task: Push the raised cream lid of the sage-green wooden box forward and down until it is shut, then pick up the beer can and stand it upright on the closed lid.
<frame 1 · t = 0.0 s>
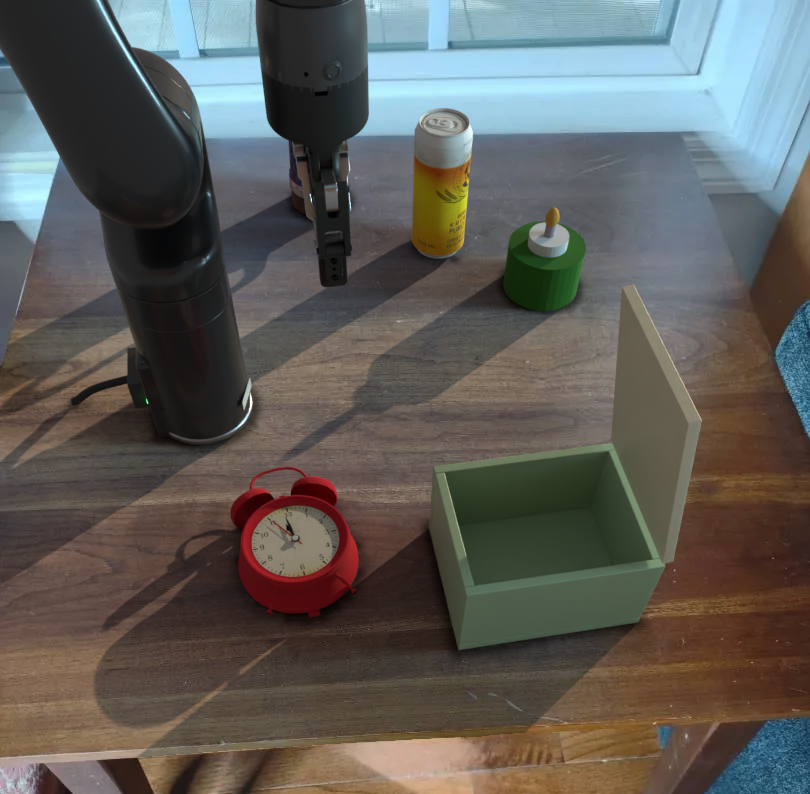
hand: (327, 251, 73), 17 cm above the table, tool pointing down, fingers open, 8 cm apart
chest: (530, 573, 76), on the table
mug: (326, 210, 105), on the table
lid: (648, 431, 62), point 17 cm above the table, hinge at 80.0°
beer can: (437, 246, 101), on the table
alarm clock: (295, 550, 77), on the table
candle: (539, 287, 97), on the table
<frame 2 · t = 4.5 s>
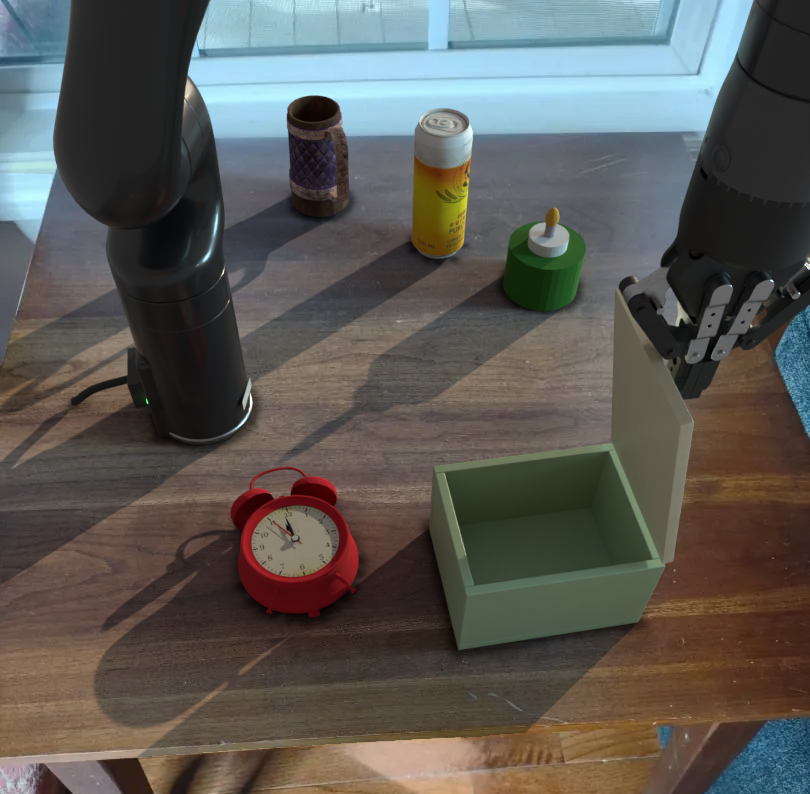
hand: (681, 390, 59), 21 cm above the table, tool pointing down, fingers closed
lid: (645, 432, 62), point 17 cm above the table, hinge at 78.3°, touching gripper
everything else where it was.
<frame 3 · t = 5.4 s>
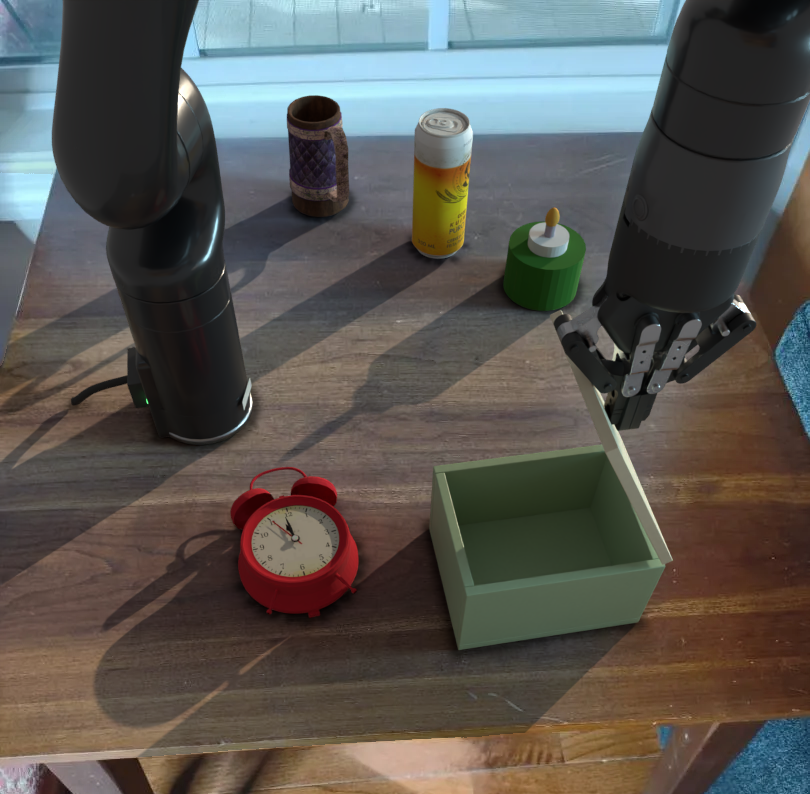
hand: (622, 420, 61), 19 cm above the table, tool pointing down, fingers closed
lid: (614, 443, 62), point 17 cm above the table, hinge at 62.1°, touching gripper
everything else where it was.
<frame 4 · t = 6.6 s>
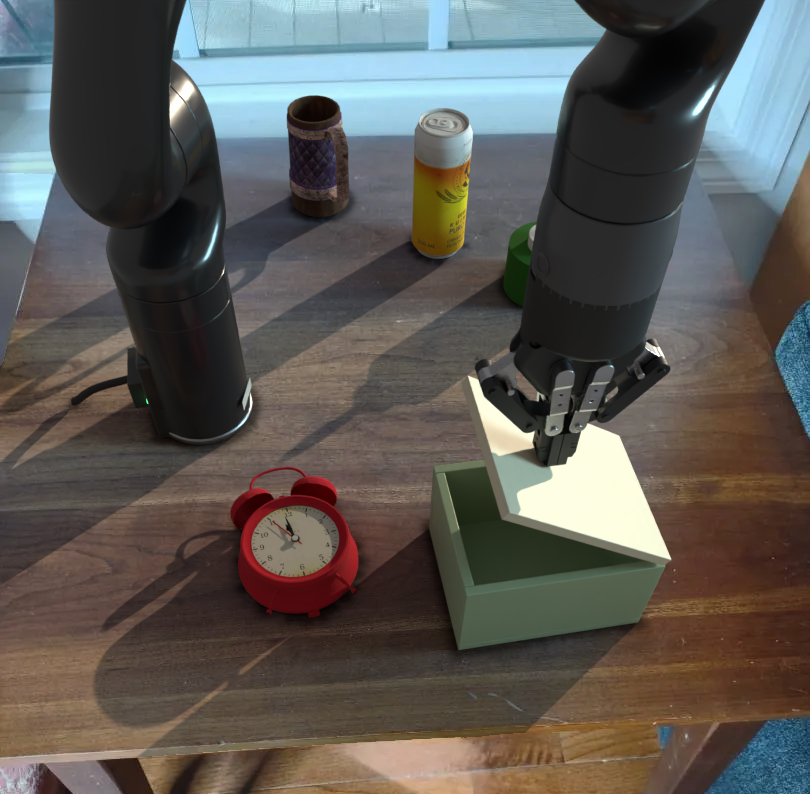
hand: (551, 456, 62), 16 cm above the table, tool pointing down, fingers closed
lid: (567, 472, 64), point 14 cm above the table, hinge at 33.7°, touching gripper
everything else where it was.
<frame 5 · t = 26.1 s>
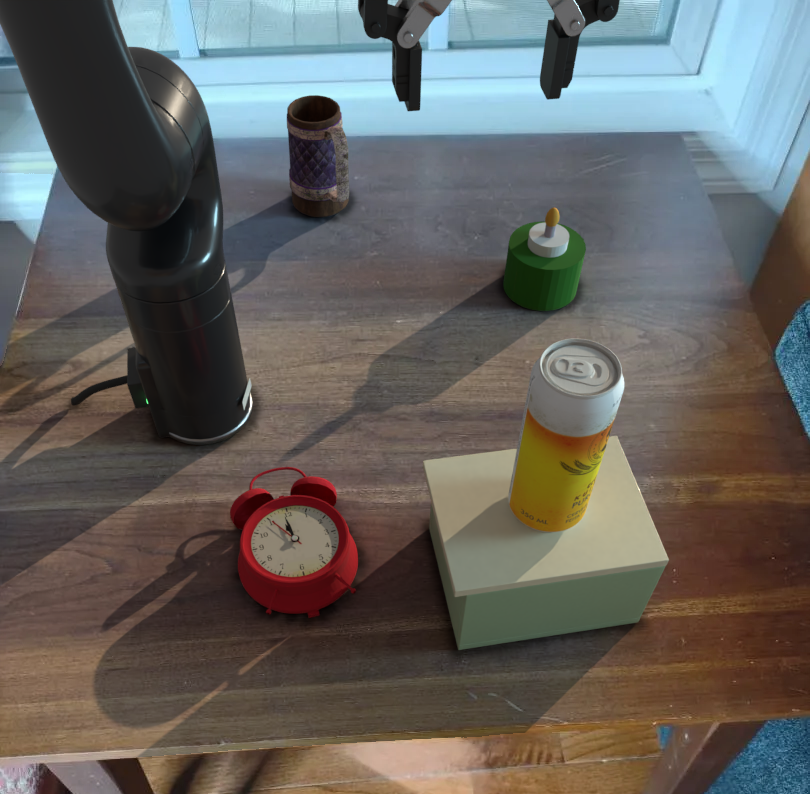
hand: (480, 98, 52), 36 cm above the table, tool pointing down, fingers open, 8 cm apart
lid: (540, 511, 68), point 9 cm above the table, hinge at -0.1°, touching beer can
beer can: (545, 507, 68), point 10 cm above the table, touching lid
everything else where it was.
at the end: lid at +0° (first picture: +80°); beer can inside the target area on the chest (0.1 cm from its centre), point 9.5 cm above the chest's base; beer can tilted 0° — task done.
